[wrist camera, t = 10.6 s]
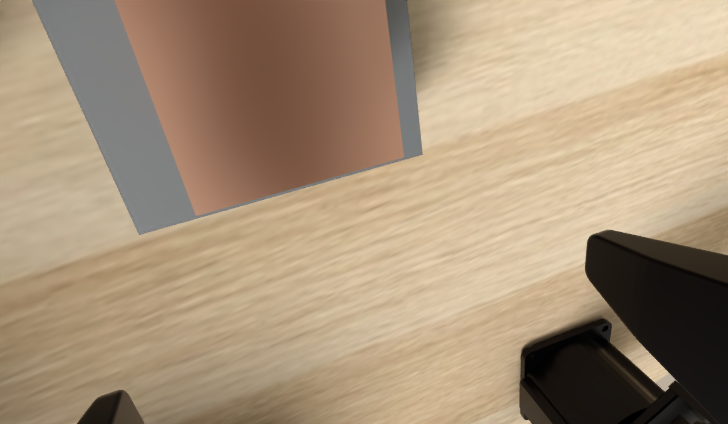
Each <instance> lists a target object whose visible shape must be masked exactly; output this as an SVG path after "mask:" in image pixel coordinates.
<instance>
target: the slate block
mask: <svg viewBox="0 0 728 424" xmlns="http://www.w3.org/2000/svg"><path fill="white" fill-rule="evenodd" d="M32 2H33V4H34V6H35V8H36V10H37V13H38V15H39V17H40V19H41V21H42V24H43V26H44V28H45V30H46V32H47V35H48V37H49V39H50V41H51V43H52V45H53V48H54V50H55V52H56V54H57V56H58V59H59V61H60V63H61V65H62V67H63V70H64V72H65V74H66V76H67V78H68V80H69V83H70V85H71V87H72V89H73V91H74V94H75V96H76V98H77V100H78V102H79V104H80V107H81V109H82V111H83V113H84V115H85V118H86V120H87V122H88V124H89V126H90V129H91V131H92V133H93V135H94V137H95V139H96V142H97V144H98V146H99V148H100V150H101V153H102V155H103V157H104V159H105V161H106V164H107V166H108V168H109V170H110V172H111V174H112V177H113V179H114V181H115V183H116V185H117V188H118V190H119V192H120V194H121V196H122V199H123V201H124V203H125V205H126V207H127V209H128V212H129V214H130V216H131V218H132V220H133V223H134V225H135V227H136V229H137V231H138V233H139V235H140V234H144V233H147V232H151V231H154V230H158V229H162V228H165V227H169V226H172V225H176V224H179V223H183V222H186V221H190V220H193V219H197V218H200V217H204V216H207V215H211V214H214V213H218V212H221V211H225V210H229V209H232V208H236V207H239V206H243V205H246V204H250V203H253V202H257V201H260V200H264V199H267V198H271V197H274V196H278V195H281V194H285V193H288V192H292V191H296V190H299V189H303V188H306V187H310V186H313V185H317V184H320V183H324V182H327V181H331V180H334V179H338V178H341V177H345V176H348V175H352V174H356V173H359V172H363V171H366V170H370V169H373V168H377V167H380V166H384V165H387V164H391V163H394V162H398V161H401V160H405V159H408V158H412V157H415V156H419V155H423V154H422V144H421V134H420V125H419V115H418V105H417V95H416V85H415V75H414V66H413V56H412V46H411V36H410V26H409V17H408V7H407V0H385V4H386V12H387V20H388V28H389V37H390V45H391V53H392V61H393V70H394V78H395V86H396V94H397V102H398V111H399V119H400V127H401V135H402V144H403V152H404V158H400V159H397V160H393V161H390V162H386V163H383V164H379V165H376V166H372V167H369V168H365V169H361V170H358V171H354V172H351V173H347V174H344V175H340V176H337V177H333V178H329V179H326V180H322V181H319V182H315V183H312V184H308V185H305V186H301V187H297V188H294V189H290V190H287V191H283V192H280V193H276V194H273V195H269V196H266V197H262V198H258V199H255V200H251V201H248V202H244V203H241V204H237V205H234V206H230V207H226V208H223V209H219V210H216V211H212V212H209V213H205V214H202V215H198V216H196V215H195V212H194V210H193V207H192V204H191V202H190V199H189V196H188V194H187V191H186V189H185V186H184V183H183V181H182V178H181V175H180V173H179V170H178V167H177V165H176V162H175V159H174V157H173V154H172V152H171V149H170V146H169V144H168V141H167V138H166V136H165V133H164V130H163V128H162V125H161V122H160V120H159V117H158V115H157V112H156V109H155V107H154V104H153V101H152V99H151V96H150V93H149V91H148V88H147V85H146V83H145V80H144V78H143V75H142V72H141V70H140V67H139V64H138V62H137V59H136V56H135V54H134V51H133V48H132V46H131V43H130V41H129V38H128V35H127V33H126V30H125V27H124V25H123V22H122V19H121V17H120V14H119V11H118V9H117V6H116V4H115V1H114V0H32Z"/></svg>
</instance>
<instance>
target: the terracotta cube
mask: <svg viewBox="0 0 728 424" xmlns="http://www.w3.org/2000/svg"><path fill="white" fill-rule="evenodd" d="M114 1H115V4H116V6H117V9H118V11H119V14H120V17H121V19H122V22H123V25H124V27H125V30H126V33H127V35H128V38H129V41H130V43H131V46H132V48H133V51H134V54H135V56H136V59H137V62H138V64H139V67H140V70H141V72H142V75H143V78H144V80H145V83H146V85H147V88H148V91H149V93H150V96H151V99H152V101H153V104H154V107H155V109H156V112H157V115H158V117H159V120H160V122H161V125H162V128H163V130H164V133H165V136H166V138H167V141H168V144H169V146H170V149H171V152H172V154H173V157H174V159H175V162H176V165H177V167H178V170H179V173H180V175H181V178H182V181H183V183H184V186H185V189H186V191H187V194H188V196H189V199H190V202H191V204H192V207H193V210H194V212H195V215H196V216H198V215H202V214H205V213H209V212H212V211H216V210H219V209H223V208H226V207H230V206H234V205H237V204H241V203H244V202H248V201H251V200H255V199H258V198H262V197H266V196H269V195H273V194H276V193H280V192H283V191H287V190H290V189H294V188H297V187H301V186H305V185H308V184H312V183H315V182H319V181H322V180H326V179H329V178H333V177H337V176H340V175H344V174H347V173H351V172H354V171H358V170H361V169H365V168H369V167H372V166H376V165H379V164H383V163H386V162H390V161H393V160H397V159H400V158H404V152H403V144H402V135H401V127H400V119H399V111H398V102H397V94H396V86H395V78H394V70H393V61H392V53H391V45H390V37H389V28H388V20H387V12H386V4H385V0H114Z"/></svg>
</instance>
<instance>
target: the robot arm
mask: <svg viewBox="0 0 728 424" xmlns="http://www.w3.org/2000/svg"><path fill="white" fill-rule="evenodd" d="M585 272H586V275H587V277H588V279H589V281H590V282H591V283H592V284H593V286H594V287H595V288H596V289H597V291H598V292H599V293H600V294H601V296H602V297H603V298H604V299H605V301H606V302H607V303H608V304H609V306H610V307H611V308H612V309H613V311H614V312H615V313H616V314H617V316H618V317H619V318H620V319H621V321H622V322H623V323H624V324H625V326H626V327H627V328H628V329H629V331H630V332H631V333H632V334H633V335H634V336H635V338H636V339H637V340H638V341H639V342H640V343H641V344H642V345H643V346H644V347H645V348H646V350H647V351H648V352H649V353H650V354H651V355H652V356H653V357H654V358H655V359H656V360H657V361H658V362H659V363H660V364H661V365H662V366H663V367H664V368H665V369H666V370H667V371H668V372H669V373H670V374H671V375H672V376H673V377H674V378H675V379H676V380H677V381H678V382H679V383H678V382H677V381H674V382H673V383H672V384H671V385H669V386H668V387H669V389H668V390H667V391H666V392H665V391H664V390H662V389H661V388H660V387H659V386H658V385H657V384H656V383H655V382H654V381H652V380H651V379H650V378H649V377H648V376H647V375H646V374H645V373H644V372H642V371H641V370H640V369H639V368H638V367H637V366H636V365H635V364H634V363H632V362H631V361H630V360H629V359H628V358H627V357H626V356H625V355H623V354H622V353H621V352H620V351H619V350H618V349H617V348H616V347H615V346H613V345H612V344H611V343H610V335H611V328H612V324H611V323H610V322H609V321H608V320H606V319H601V320H598V321H595V322H593V323H590V324H588V325H585V326H583V327H580V328H577V329H575V330H572V331H570V332H567V333H565V334H562V335H559V336H557V337H554V338H552V339H549V340H546V341H544V342H541V343H539V344H536V345H534V346H531V347H528V348H526V349H525V350H524V351H523V352H522V354H521V380H520V413H521V415H522V417H523V418H524V419H525V420H529V421H530V422H531V423H532V424H728V255H724V254H719V253H715V252H710V251H705V250H701V249H696V248H692V247H687V246H683V245H678V244H673V243H669V242H664V241H660V240H655V239H650V238H646V237H641V236H637V235H632V234H628V233H623V232H618V231H614V230H605V231H602V232H599V233H596V234H593V235H591V236H590V237H589V239H588V241H587V250H586V261H585ZM77 424H144V422H143V420H142V418H141V416H140V414H139V412H138V411H137V409H136V407H135V405H134V403H133V402H132V400H131V398H130V396H129V395H128V393H127V392H126V391H124V390H118V391H115V392H112V393H109V394H105V395H102V396H100V397H98V398H97V399H96V400H95V401H94V402H93V403H92V405H91V406H90V407H89V409H88V410H87V411H86V412H85V414H84V415H83V416H82V418H81V419H80V420H79V422H78V423H77Z"/></svg>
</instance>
